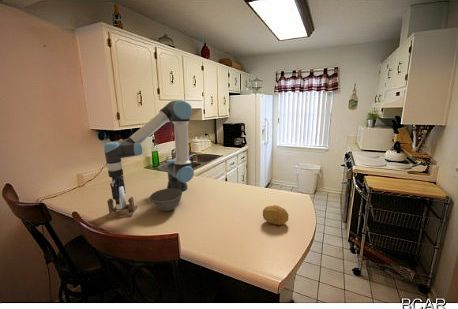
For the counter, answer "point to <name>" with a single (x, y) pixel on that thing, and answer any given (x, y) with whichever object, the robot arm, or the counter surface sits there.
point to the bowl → (166, 198)
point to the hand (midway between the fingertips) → (121, 206)
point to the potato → (275, 215)
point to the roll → (122, 197)
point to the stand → (122, 212)
